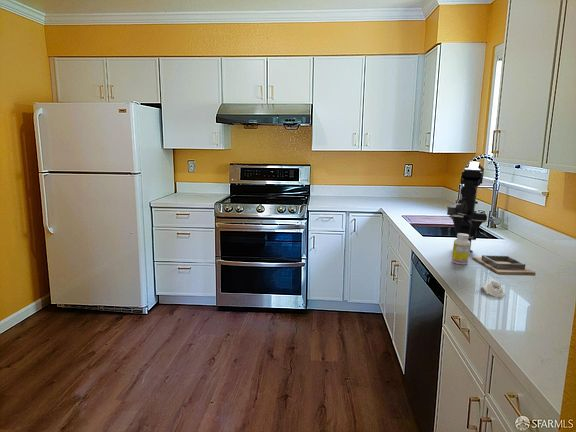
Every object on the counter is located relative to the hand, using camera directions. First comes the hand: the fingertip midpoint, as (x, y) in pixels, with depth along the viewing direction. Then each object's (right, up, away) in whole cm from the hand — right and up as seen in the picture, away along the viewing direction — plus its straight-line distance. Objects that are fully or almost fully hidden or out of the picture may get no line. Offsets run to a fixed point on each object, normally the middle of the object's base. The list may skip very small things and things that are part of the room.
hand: (463, 234), depth 170 cm
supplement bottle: (0, -13, +4) cm, 13 cm away
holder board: (+17, -14, +1) cm, 22 cm away
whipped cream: (-3, -20, -30) cm, 36 cm away
